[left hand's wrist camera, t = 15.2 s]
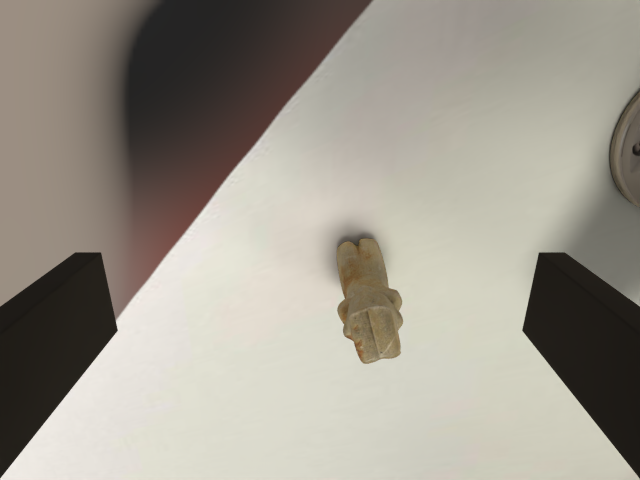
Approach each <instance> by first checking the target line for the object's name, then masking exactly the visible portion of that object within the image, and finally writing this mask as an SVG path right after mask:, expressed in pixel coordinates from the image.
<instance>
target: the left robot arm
mask: <svg viewBox="0 0 640 480" xmlns="http://www.w3.org/2000/svg"><path fill="white" fill-rule="evenodd" d="M610 164H611V171H612V175H613V178H614V181H615V183H616V185H617V187H618V189H619V190H620V192H621V193H622V194H623V195H624V196H625V197H626V198H627V199H628V200H629V201H630V202H632V203H633V204H635V205H637V206H638V207H640V91H639V92H638V94H637V95H636V96H635V97H634V98H633V99H632V101H631V102H630V104H629V105H628V106H627V108H626V110H625V111H624V113H623V115H622V116H621V118H620V120H619V122H618V125H617V127H616V130H615V133H614V136H613V140H612V144H611V152H610ZM117 331H118V330H117V325H116V321H115V316H114V311H113V307H112V302H111V297H110V293H109V288H108V283H107V278H106V274H105V269H104V265H103V260H102V255H101V253H74V254H73V255H71V256H70V257H69V258H67V259H66V260H64V261H63V262H62V263H60V264H59V265H57V266H56V267H55V268H53V269H52V270H51V271H49V272H48V273H46V274H45V275H44V276H42V277H41V278H40V279H38V280H37V281H35V282H34V283H33V284H31V285H30V286H28V287H27V288H26V289H24V290H23V291H21V292H20V293H19V294H17V295H16V296H15V297H13V298H12V299H10V300H9V301H8V302H6V303H5V304H3V305H2V306H1V307H0V478H1V477H2V475H3V474H4V473H5V472H6V470H7V469H8V468H9V467H10V465H11V464H12V463H13V462H14V460H15V459H16V458H17V457H18V455H19V454H20V453H21V451H22V450H23V449H24V448H25V446H26V445H27V444H28V443H29V441H30V440H31V439H32V438H33V436H34V435H35V434H36V433H37V431H38V430H39V429H40V428H41V426H42V425H43V424H44V423H45V421H46V420H47V419H48V418H49V416H50V415H51V414H52V413H53V411H54V410H55V409H56V407H57V406H58V405H59V404H60V402H61V401H62V400H63V399H64V397H65V396H66V395H67V394H68V392H69V391H70V390H71V389H72V387H73V386H74V385H75V384H76V382H77V381H78V380H79V379H80V377H81V376H82V375H83V374H84V372H85V371H86V370H87V368H88V367H89V366H90V365H91V363H92V362H93V361H94V360H95V358H96V357H97V356H98V355H99V353H100V352H101V351H102V350H103V348H104V347H105V346H106V345H107V343H108V342H109V341H110V340H111V338H112V337H113V336H114V335H115V333H116V332H117ZM522 331H523V332H524V333H525V335H526V336H527V337H528V338H529V340H530V341H531V342H532V343H533V345H534V346H535V347H536V348H537V350H538V351H539V352H540V353H541V355H542V356H543V357H544V358H545V360H546V361H547V362H548V363H549V365H550V366H551V367H552V368H553V370H554V371H555V372H556V374H557V375H558V376H559V377H560V379H561V380H562V381H563V382H564V384H565V385H566V386H567V387H568V389H569V390H570V391H571V392H572V394H573V395H574V396H575V397H576V399H577V400H578V401H579V402H580V404H581V405H582V406H583V407H584V409H585V410H586V411H587V413H588V414H589V415H590V416H591V418H592V419H593V420H594V421H595V423H596V424H597V425H598V426H599V428H600V429H601V430H602V431H603V433H604V434H605V435H606V436H607V438H608V439H609V440H610V441H611V443H612V444H613V445H614V446H615V448H616V449H617V450H618V451H619V453H620V454H621V455H622V457H623V458H624V459H625V460H626V462H627V463H628V464H629V465H630V467H631V468H632V469H633V470H634V472H635V473H636V474H637V475H638V477H639V478H640V307H639V306H638V305H637V304H635V303H634V302H632V301H631V300H630V299H628V298H627V297H626V296H624V295H623V294H621V293H620V292H619V291H617V290H616V289H614V288H613V287H612V286H610V285H609V284H608V283H606V282H605V281H603V280H602V279H601V278H599V277H598V276H596V275H595V274H594V273H592V272H591V271H589V270H588V269H587V268H585V267H584V266H583V265H581V264H580V263H578V262H577V261H576V260H574V259H573V258H571V257H570V256H569V255H567V254H566V253H539V255H538V260H537V264H536V269H535V274H534V278H533V283H532V288H531V293H530V297H529V302H528V307H527V311H526V316H525V321H524V325H523V330H522Z"/></svg>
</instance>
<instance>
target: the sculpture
mask: <svg viewBox="0 0 640 480" xmlns="http://www.w3.org/2000/svg"><path fill="white" fill-rule="evenodd" d="M337 263H338V270H339V277H340V282H341V286H342V291H343V294H344V297H345V299H344V300H343V301H342V302H341V303H340V304H339V306H338V309H337V311H338V314H339V317H340V319H341V320H342V322H343V324H344V327H343V333H344V336H345V337H347V338H349V339H351V340H353V341H354V343H355V347H356V351H357V353H358V356H359V358H360V360H361V361H362V362H363V363H364V364H369V363H372V362H375V361H377V360H379V359H383V358H386V359H389V358H395V357H397V356H399V355H400V353H401V352H400V340H399V335H398V330H399V328H400V327H401V326H402V324H403V319H402V316H401V314H400V312H399V310H400V308H401V305H402V299H401V297H400V295H399V293H398V291H397V290H393V289H390V288H388V279H387V273H386V269H385V265H384V261H383V257H382V254H381V251H380V248H379V245H378V243H377V241H375V240H374V239H360V241H359V244H358V246H356V245H354V244H353V243H351V242H349V241H347V242H344V243H342V244H341V245H339V247H338V249H337Z"/></svg>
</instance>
